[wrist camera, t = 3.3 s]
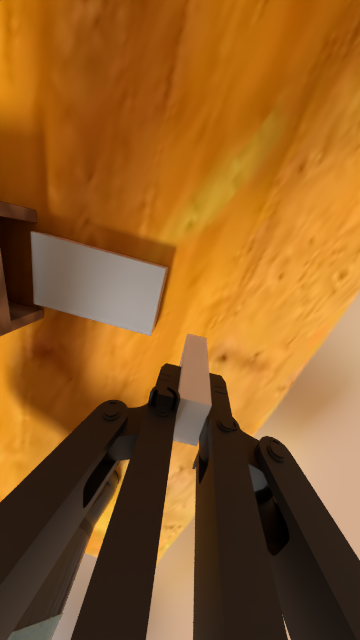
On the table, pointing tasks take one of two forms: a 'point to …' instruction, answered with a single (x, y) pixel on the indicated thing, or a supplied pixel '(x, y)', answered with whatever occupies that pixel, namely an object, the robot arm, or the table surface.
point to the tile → (96, 283)
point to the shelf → (3, 313)
